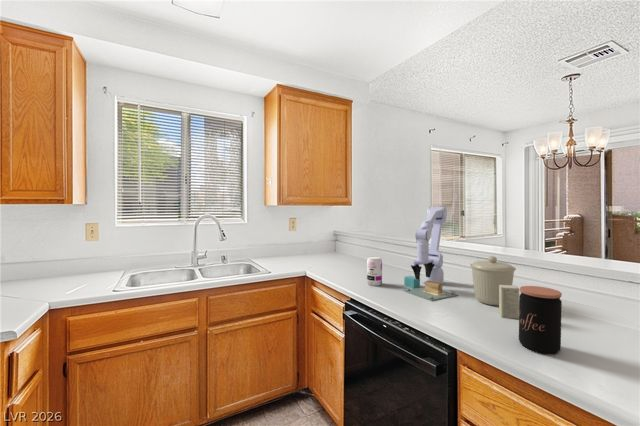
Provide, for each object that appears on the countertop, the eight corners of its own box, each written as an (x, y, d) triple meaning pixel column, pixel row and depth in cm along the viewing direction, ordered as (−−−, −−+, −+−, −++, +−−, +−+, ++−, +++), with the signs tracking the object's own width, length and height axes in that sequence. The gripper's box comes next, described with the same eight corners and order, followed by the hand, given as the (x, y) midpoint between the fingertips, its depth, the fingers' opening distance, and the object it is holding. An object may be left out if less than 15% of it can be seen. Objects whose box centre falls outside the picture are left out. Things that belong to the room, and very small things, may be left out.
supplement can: (381, 282, 173) (381, 256, 173) (382, 286, 165) (382, 259, 165) (366, 282, 174) (366, 256, 174) (367, 286, 166) (367, 258, 166)
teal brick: (410, 284, 169) (410, 275, 169) (419, 287, 163) (420, 278, 163) (404, 285, 167) (404, 276, 167) (413, 288, 161) (413, 279, 161)
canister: (512, 299, 143) (512, 254, 142) (518, 311, 126) (519, 261, 126) (469, 294, 150) (469, 252, 150) (470, 305, 134) (470, 258, 133)
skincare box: (516, 315, 122) (516, 285, 122) (519, 319, 118) (519, 288, 117) (498, 313, 124) (498, 284, 124) (500, 317, 120) (501, 287, 119)
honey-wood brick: (429, 289, 156) (429, 280, 156) (442, 292, 151) (442, 282, 151) (424, 291, 153) (424, 281, 153) (438, 294, 148) (438, 284, 148)
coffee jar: (510, 340, 100) (511, 286, 99) (541, 339, 101) (542, 285, 100) (536, 356, 89) (537, 296, 88) (570, 355, 90) (571, 294, 89)
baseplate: (429, 286, 164) (429, 284, 164) (457, 295, 148) (457, 292, 148) (404, 291, 156) (404, 288, 156) (431, 301, 140) (431, 298, 140)
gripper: (426, 250, 165) (426, 274, 166) (406, 252, 158) (406, 278, 159) (437, 251, 159) (437, 277, 159) (417, 254, 152) (417, 281, 152)
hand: (422, 277), depth 159 cm, fingers open, 7 cm apart
